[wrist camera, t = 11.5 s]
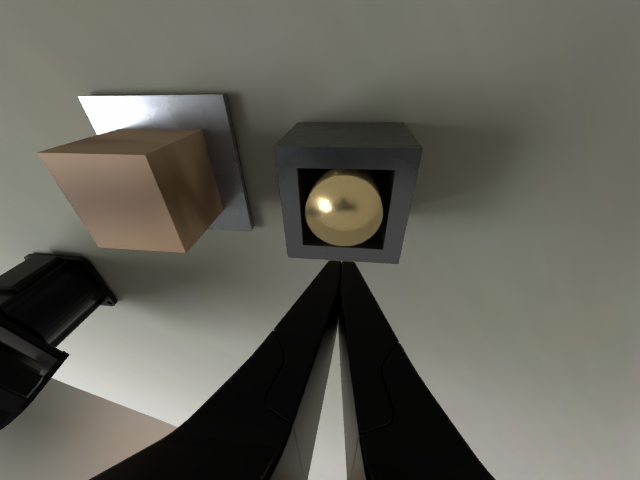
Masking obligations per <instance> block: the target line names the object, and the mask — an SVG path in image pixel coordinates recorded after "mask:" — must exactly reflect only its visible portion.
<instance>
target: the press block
mask: <svg viewBox="0 0 640 480" xmlns="http://www.w3.org/2000/svg"><path fill="white" fill-rule="evenodd" d="M274 149H275V157H276V165H277V173H278V181H279V189H280V197H281V205H282V213H283V221H284V229H285V237H286V245H287V253H288V257H292V258H308V259H325V260H341V261H358V262H374V263H390V264H398V263H399V258H400V254H401V249H402V244H403V239H404V234H405V230H406V225H407V220H408V215H409V210H410V206H411V201H412V196H413V191H414V186H415V181H416V177H417V172H418V167H419V162H420V157H421V153H422V147H421V146H420V144H419V143H418V142H417V140H416V139H415V137H414V136H413V135H412V133H411V132H410V131H409V129H408V128H407V126H406V125H405V124H404V123H296V125H295V126H294V127H293V128H292V129H291V130H290V131H289V132H288V133H287V134H286V135H285V136H284V137H283V138H282V139H281V140H280V141H279V142H278V143H277V144H276V145H275V146H274ZM314 168H320V169H368V170H381V177H380V185H379V190H380V196H381V202H382V208H383V217H382V222H381V224H380V226H379V228H378V230H377V231H376V233H375V234H374V235H373V236H372V237H370V238H369V239H368V240H366V241H364V242H362V243H360V244H357V245H352V246H337V245H333V244H330V243H327V242H325V241H323V240H321V239H320V238H319V237H317V236H316V235H315V234H314V233H313V232H312V230H311V229H310V227H309V225H308V223H307V220H306V215H305V208H306V203H307V200H308V197H309V195H310V192H311V189H312V186H313V183H314V181H315V174H314Z"/></svg>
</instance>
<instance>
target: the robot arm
mask: <svg viewBox="0 0 640 480" xmlns="http://www.w3.org/2000/svg"><path fill="white" fill-rule="evenodd" d="M24 259H25V261H24V262H22V263H20V264H19V265H17V266H16V267H14V268H12V269H11V270H9V271H7V272H6V273H4V274H2V275H1V276H0V430H1V429H3V428H4V427H5V426H7V425H8V424H9V423H11V422H12V421H13V420H14V419H15V418H16V417H17V416H18V415H19V414H21V413H22V412H23V411H24V410H25V409H26V408H27V407H28V406H29V404H30V403H31V402H32V401H33V400H34V399H35V398H36V396H37V395H38V394H39V392H40V391H41V390H42V389H43V387H44V386H45V385H46V384H47V382H48V381H49V380H50V379H51V377H52V376H53V375H54V374H55V372H56V371H57V370H58V369H59V367H60V366H61V365H62V364H63V362H64V361H65V360H66V358H67V357H68V356H69V354H68V353H66V352H65V351H60V350H59V349H57V348H56V347H57V346H58V345H59V344H60V343H61V342H62V341H63V340H64V339H65V338H66V337H67V336H68V335H69V334H70V333H71V332H72V331H74V330H75V329H76V328H77V327H78V326H79V325H80V324H81V323H82V322H83V321H84V320H85V319H86V318H87V317H88V316H89V315H90V314H91V313H92V312H93V311H95V310H96V309H97V308H98V307H99V306H100V305H106V306H114V305H115V304H116V303H117V300H116V299H115V297H114V296H113V295H112V293H111V292H110V290H109V289H108V288H107V286H106V285H105V284H104V282H103V281H102V279H101V278H100V277H99V275H98V274H97V273H96V271H95V270H94V268H93V267H92V266H91V264H90V263H89V262H88V260H86V259H85V258H82V257H71V256H56V255H41V254H28V255H27V256H25V257H24ZM338 318H339V321H338ZM337 327H338V331H339V349H340V366H341V383H342V400H343V417H344V434H345V451H346V468H347V480H495V479H494V477H493V476H492V475H491V474H490V473H489V472H488V471H487V469H486V468H485V467H484V466H483V464H482V463H481V462H480V461H479V459H478V458H477V457H476V455H475V454H474V453H473V451H472V450H471V449H470V447H469V446H468V444H467V443H466V441H465V440H464V439H463V437H462V436H461V434H460V433H459V432H458V430H457V429H456V427H455V426H454V425H453V423H452V422H451V420H450V419H449V418H448V416H447V415H446V413H445V412H444V411H443V409H442V408H441V406H440V405H439V404H438V402H437V401H436V399H435V398H434V397H433V395H432V394H431V392H430V391H429V389H428V388H427V386H426V385H425V383H424V382H423V380H422V379H421V377H420V376H419V375H418V373H417V371H416V370H415V368H414V366H413V365H412V363H411V361H410V360H409V358H408V356H407V355H406V353H405V351H404V349H403V347H402V346H401V344H400V343H399V341H398V339H397V337H396V335H395V333H394V332H393V330H392V328H391V326H390V325H389V323H388V321H387V319H386V317H385V316H384V314H383V312H382V310H381V309H380V307H379V305H378V303H377V301H376V300H375V298H374V296H373V294H372V293H371V291H370V289H369V287H368V285H367V284H366V282H365V280H364V278H363V276H362V275H361V273H360V271H359V269H358V268H357V266H356V264H355V263H354V262H352V261H343V262H342V263H341V261H336V260H330V261H328V263H327V264H326V265H325V266H324V268H323V269H322V270H321V271H320V273H319V274H318V275H317V276H316V277H315V279H314V280H313V281H312V282H311V284H310V285H309V286H308V287H307V289H306V290H305V291H304V292H303V294H302V295H301V296H300V297H299V299H298V300H297V301H296V302H295V303H294V305H293V306H292V307H291V308H290V310H289V311H288V312H287V313H286V315H285V316H284V317H283V318H282V320H281V321H280V322H279V323H278V325H277V326H276V327H275V328H274V331H272V332H271V333H270V334H269V336H268V337H267V338H266V339H265V341H264V342H263V343H262V344H261V345H260V346H259V348H258V349H257V350H256V351H255V352H254V353H253V355H252V356H251V357H250V358H249V359H248V360H247V361H246V362H245V363H244V364H243V365H242V366H241V367H240V368H239V369H238V370H237V371H236V372H235V373H234V374H233V375H232V376H231V377H230V378H229V379H228V380H227V381H226V382H225V383H224V384H223V385H222V386H221V387H220V388H219V389H218V390H217V391H216V392H215V393H214V394H213V395H212V396H211V397H210V398H209V399H208V400H207V401H206V402H205V403H204V404H203V405H202V406H201V407H200V408H199V409H198V410H197V411H196V412H195V413H194V414H193V415H192V416H191V417H190V418H189V419H188V420H187V421H185V422H184V423H183V424H182V425H181V426H179V427H178V428H177V429H176V430H174V431H173V432H172V433H170V434H168V435H167V436H166V437H164V438H162V439H161V440H159V441H157V442H156V443H154V444H152V445H150V446H148V447H147V448H145V449H143V450H141V451H140V452H138V453H136V454H134V455H132V456H131V457H129V458H127V459H125V460H123V461H122V462H120V463H118V464H116V465H114V466H113V467H111V468H109V469H107V470H105V471H104V472H102V473H100V474H98V475H97V476H95V477H93V478H91V479H89V480H308V475H309V469H310V464H311V459H312V454H313V449H314V444H315V439H316V434H317V429H318V424H319V419H320V414H321V409H322V404H323V399H324V394H325V389H326V384H327V378H328V373H329V368H330V363H331V358H332V353H333V348H334V343H335V338H336V333H337Z"/></svg>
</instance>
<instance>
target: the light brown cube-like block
mask: <svg viewBox="0 0 640 480" xmlns="http://www.w3.org/2000/svg"><path fill="white" fill-rule="evenodd" d="M37 154H38V156H39V157H40V159H41V160H42V162H43V163H44V165H45V167H46V168H47V170H48V171H49V173H50V174H51V176H52V177H53V179H54V180H55V182H56V183H57V185H58V186H59V188H60V189H61V191H62V192H63V194H64V195H65V197H66V198H67V200H68V201H69V203H70V204H71V206H72V207H73V209H74V210H75V212H76V214H77V215H78V217H79V218H80V220H81V221H82V223H83V224H84V226H85V227H86V229H87V230H88V232H89V233H90V235H91V236H92V238H93V239H94V241H95V242H96V244H97V245H98V247H102V248H117V249H132V250H147V251H162V252H178V253H186V252H187V251H188V250H189V249H190V248H191V247H192V246H193V244H194V243H195V242H196V241H197V240H198V239H199V238H200V237H201V235H202V234H203V233H204V232H205V231H206V230H207V229H208V228H209V226H210V225H211V224H212V223H213V222H214V221H215V220H216V219H217V217H218V216H219V215H220V214H221V213H222V212H223V211H224V210H223V206H222V202H221V199H220V195H219V191H218V188H217V184H216V180H215V176H214V173H213V169H212V165H211V162H210V158H209V154H208V151H207V147H206V143H205V139H204V136H203V132H202V130H186V129H117V130H113V131H110V132H106V133H103V134H99V135H96V136H93V137H89V138H86V139H82V140H79V141H75V142H72V143H68V144H65V145H61V146H58V147H54V148H51V149H48V150H44V151H41V152H37Z"/></svg>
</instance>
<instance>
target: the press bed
mask: <svg viewBox="0 0 640 480" xmlns="http://www.w3.org/2000/svg"><path fill="white" fill-rule="evenodd" d="M78 98H79V100H80V101H81V103H82V105H83V107H84V109H85V111H86V113H87V115H88V117H89V119H90V121H91V123H92V125H93V127H94V129H95V131H96V133H97V135H99V134H103V133H106V132H110V131H113V130H117V129H186V130H202V132H203V136H204V139H205V143H206V147H207V151H208V154H209V158H210V162H211V165H212V169H213V173H214V176H215V180H216V184H217V188H218V191H219V195H220V199H221V202H222V206H223V210H224V211H223V212H222V213H221V214H220V215H219V216H218V217H217V219H216V220H215V221H214V222H213V223H212V224H211V225H210V226H209V228H208V229H221V230H241V231H252V230H253V223H252V218H251V213H250V209H249V204H248V199H247V194H246V189H245V185H244V180H243V175H242V170H241V165H240V160H239V156H238V151H237V146H236V141H235V136H234V132H233V127H232V122H231V117H230V112H229V108H228V103H227V98H226V94H172V95H96V96H78Z"/></svg>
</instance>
